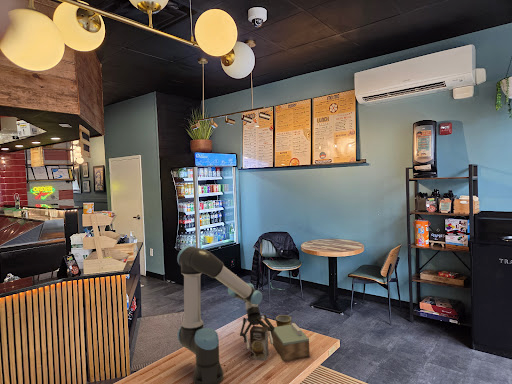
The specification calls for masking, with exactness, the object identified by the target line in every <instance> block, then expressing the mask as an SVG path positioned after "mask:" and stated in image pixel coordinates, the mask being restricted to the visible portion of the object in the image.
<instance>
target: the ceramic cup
mask: <svg viewBox="0 0 512 384" xmlns="http://www.w3.org/2000/svg"><path fill="white" fill-rule="evenodd" d="M275 323H276V327H278V326H285V325H291V323H292V317H291V316H290V315H287V314H278V315H277V316H276V317H275Z"/></svg>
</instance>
